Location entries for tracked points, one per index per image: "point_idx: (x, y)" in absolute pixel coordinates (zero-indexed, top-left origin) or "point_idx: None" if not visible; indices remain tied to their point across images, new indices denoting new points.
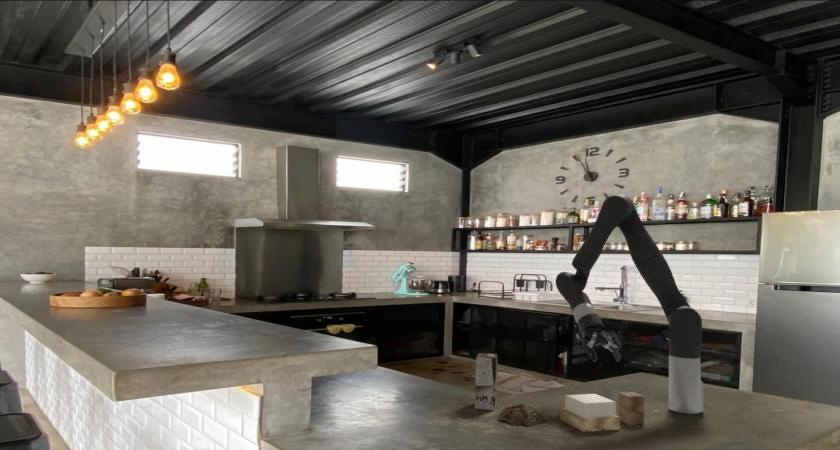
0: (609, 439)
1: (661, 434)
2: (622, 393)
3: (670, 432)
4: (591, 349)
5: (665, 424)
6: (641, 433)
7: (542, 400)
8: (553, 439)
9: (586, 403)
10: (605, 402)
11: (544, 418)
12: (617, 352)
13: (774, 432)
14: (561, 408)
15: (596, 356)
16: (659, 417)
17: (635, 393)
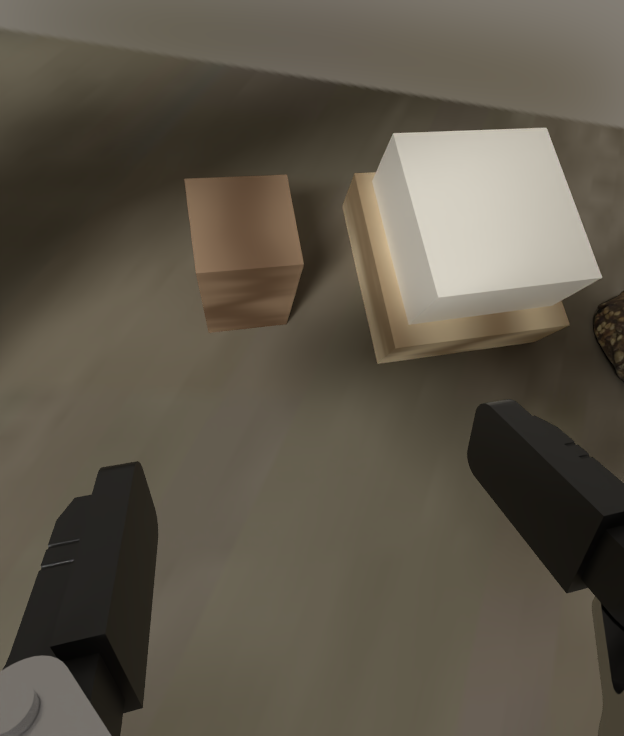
0: (426, 120)
1: (211, 136)
2: (289, 244)
3: (156, 150)
4: (621, 511)
5: (99, 244)
6: (284, 155)
7: (554, 719)
8: (593, 145)
9: (538, 128)
10: (447, 131)
11: (607, 309)
12: (104, 542)
13: None
14: (565, 314)
15: (506, 410)
16: (42, 352)
17: (200, 239)
